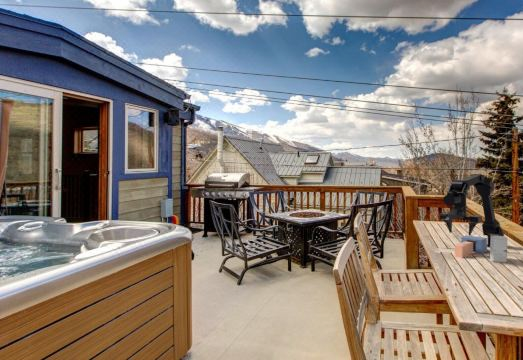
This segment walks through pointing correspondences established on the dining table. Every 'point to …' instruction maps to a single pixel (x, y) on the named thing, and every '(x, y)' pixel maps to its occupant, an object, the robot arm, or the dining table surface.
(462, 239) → the block
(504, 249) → the skincare box
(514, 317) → the dining table surface
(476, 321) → the dining table surface
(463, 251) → the salmon pink prism
